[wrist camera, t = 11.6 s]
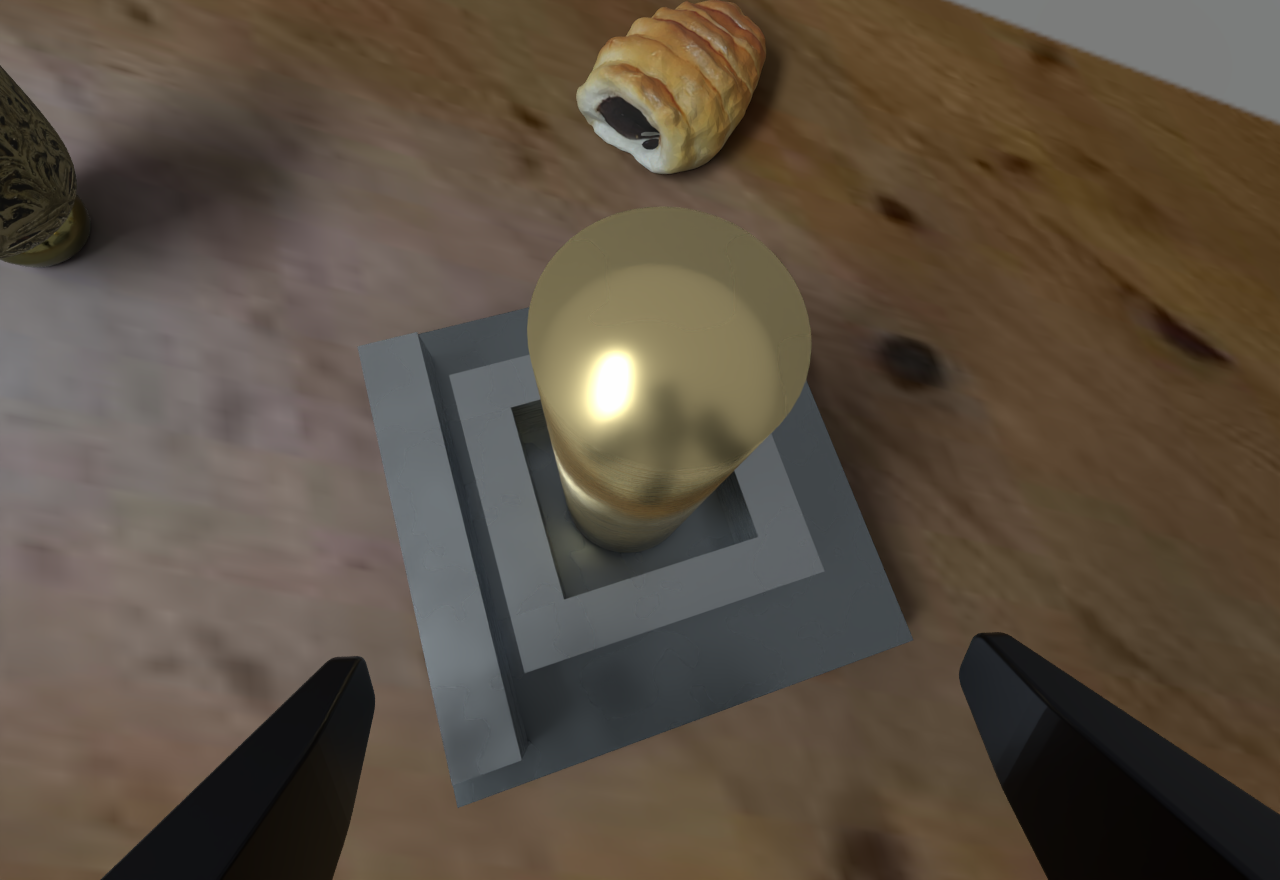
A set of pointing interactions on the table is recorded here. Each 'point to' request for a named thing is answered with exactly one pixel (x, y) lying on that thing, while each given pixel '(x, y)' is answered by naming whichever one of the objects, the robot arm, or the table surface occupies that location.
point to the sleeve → (661, 365)
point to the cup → (36, 186)
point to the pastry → (675, 84)
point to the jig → (601, 569)
